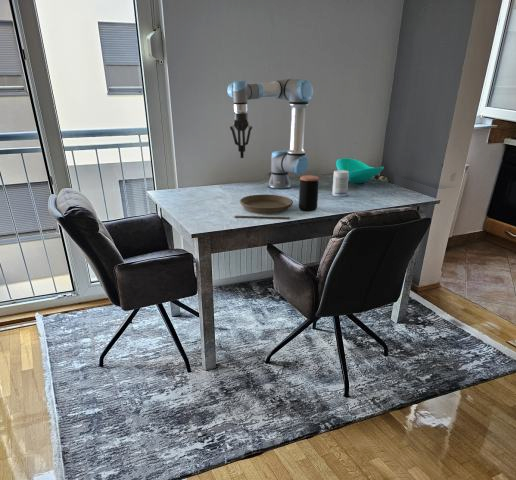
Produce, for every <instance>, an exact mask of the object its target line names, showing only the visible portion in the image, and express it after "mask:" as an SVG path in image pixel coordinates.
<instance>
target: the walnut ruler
mask: <svg viewBox="0 0 516 480" xmlns="http://www.w3.org/2000/svg"><path fill="white" fill-rule="evenodd" d="M234 218H236V219H266V220H290V217H289V216H288V217H287V216H259V215H258V216H257V215H235V216H234Z"/></svg>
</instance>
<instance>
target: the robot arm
mask: <svg viewBox="0 0 516 480" xmlns="http://www.w3.org/2000/svg"><path fill="white" fill-rule="evenodd" d="M226 91H227V95H228V96H229V97H230V98H231V99H232V98H233V112H234V113H233V121H234V122H233V124H232V125H230V126H229V129H230V131H231V134H232V137H233V141H234V145H236V146H238V149H237V150H238V152H240V159H244V158H245V157H244V156H245V152H246V146H247V145H248V144H249V141H250V137H251V132H252V129H253V125H251V124H250V123H249V120H248V119H249V116H248V114H249V113H247V112H248V100H249V101H250V100H259V99H261V98H272V99H277V100H278V99H279V100H283V101H289V106H290V107H291V114H290V135H289V136H290V137H289V149H288V150H287V149H285V150H275V151H272V152H271V158H270V159H271V160H270V161H271V165H270V169H271V171H270V173H268V175H270V176H269V177H270V178H269V180H268V184H267V185H268V188H271V189H274V190H286V189H290V188H291V185H292V184H291V180H290V176H289V173H290V174H294V175H303V174H304V173H305V172H306V171H307V169H308V167H309V157H307V155H306V151H305V150H304V143H305V142H304V141H305V140H304V139H305V126H306V125H305V123H306V122H305V121H306V108H307V107H308V106H309V102H310V101H312V98H313V95H314V88H313V85H312V84H311V81H309V80H308V79H303V78H286V79H280V80H273V81H271V82H248V81H247V80H234V81H233V82H231V83H229V84H228V86H227V89H226ZM247 129H248V131H247V135H246V130H247ZM235 130H237V134H236V131H235ZM241 135H242V136H241ZM241 137H242V138H241ZM241 140H242V141H241Z"/></svg>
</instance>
